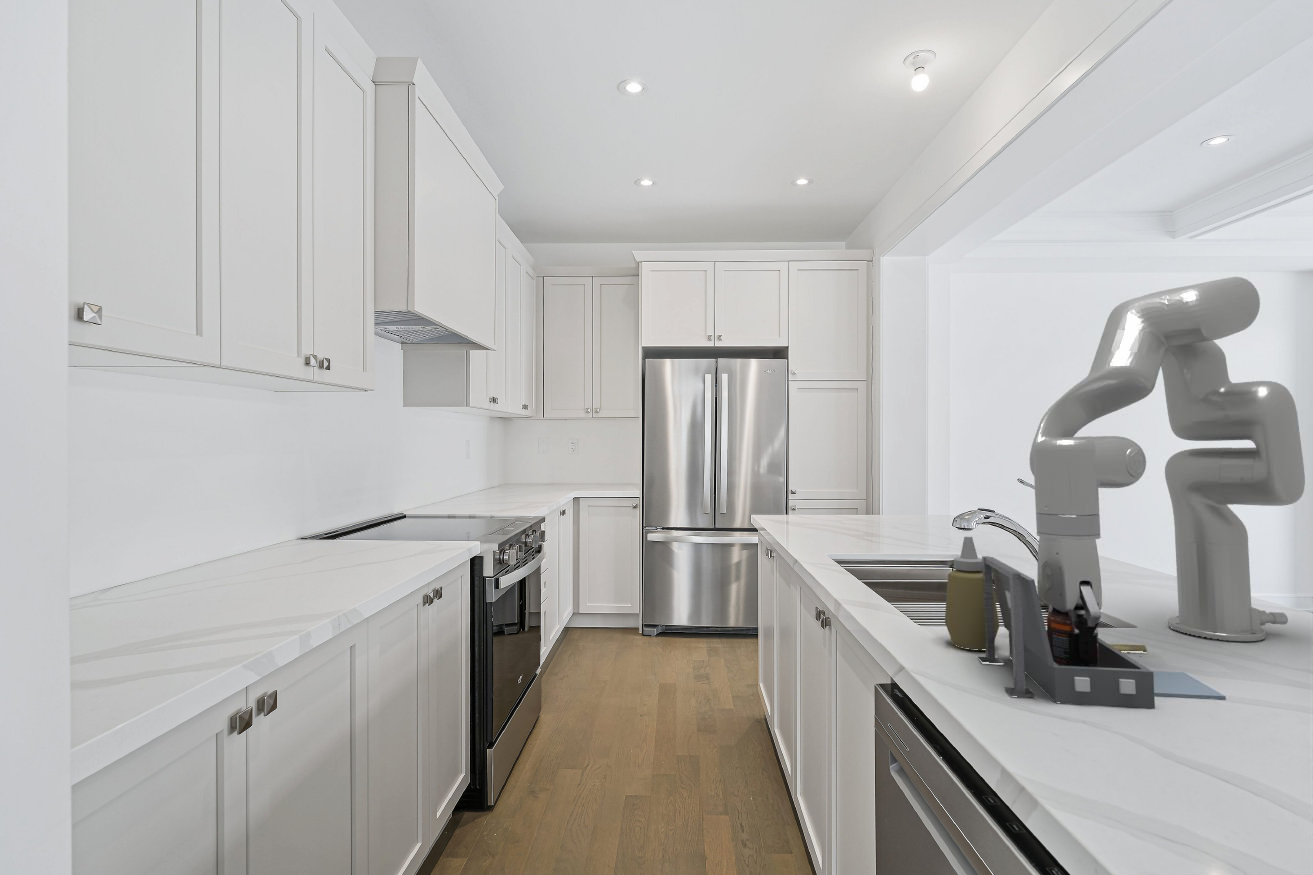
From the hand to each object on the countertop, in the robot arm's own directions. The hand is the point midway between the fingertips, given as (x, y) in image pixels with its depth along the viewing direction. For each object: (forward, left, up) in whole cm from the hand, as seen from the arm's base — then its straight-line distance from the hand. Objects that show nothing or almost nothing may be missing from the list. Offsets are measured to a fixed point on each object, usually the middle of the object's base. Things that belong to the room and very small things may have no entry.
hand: (1073, 654), depth 88 cm
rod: (-10, -14, -3) cm, 17 cm away
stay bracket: (+9, 0, -4) cm, 10 cm away
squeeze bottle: (+9, -15, -4) cm, 18 cm away
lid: (+6, 0, +7) cm, 9 cm away
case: (0, 0, -4) cm, 4 cm away
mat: (-11, 0, -4) cm, 12 cm away
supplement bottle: (0, 0, -4) cm, 4 cm away
